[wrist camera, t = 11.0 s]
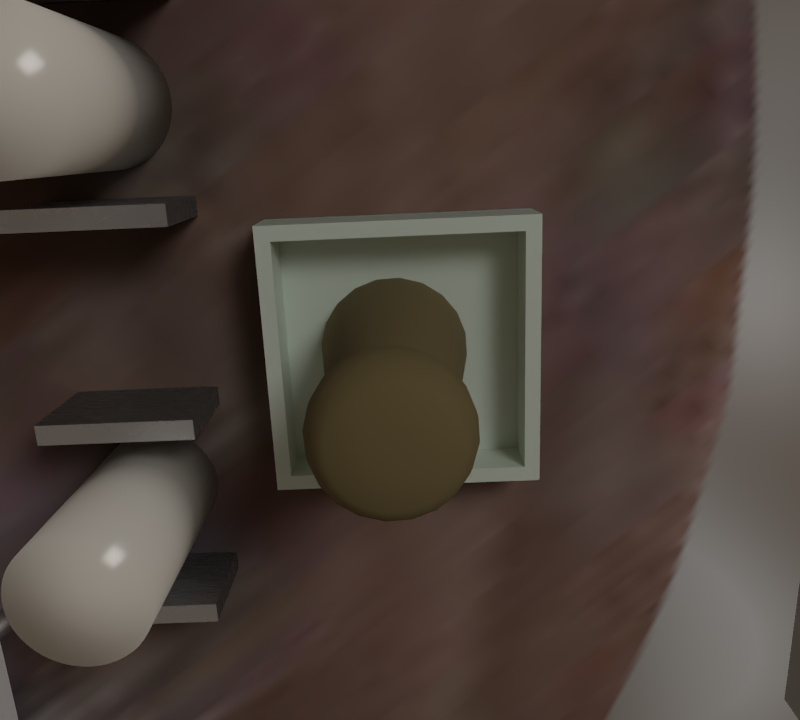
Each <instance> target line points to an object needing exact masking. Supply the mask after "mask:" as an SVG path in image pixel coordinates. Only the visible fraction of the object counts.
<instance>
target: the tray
mask: <svg viewBox="0 0 800 720" xmlns="http://www.w3.org/2000/svg"><path fill="white" fill-rule="evenodd" d="M252 228H253V239H254V249H255V259H256V270H257V280H258V290H259V301H260V311H261V322H262V332H263V342H264V353H265V363H266V374H267V384H268V394H269V405H270V415H271V426H272V436H273V446H274V457H275V467H276V478H277V488H278V490H292V489H318V488H321V487H320V486H319V484H318V482H317V480H316V478H315V476H314V474H313V472H312V470H311V468H310V466H309V464H308V462H307V459H306V455H305V447H304V440H303V432H302V429H303V424H304V420H305V415H306V410H307V405H308V403H309V400H310V398H311V396H312V394H313V393H314V391H315V389H316V388H317V386H318V384H319V383H320V381H321V380H322V378H323V376H324V366H323V355H322V340H323V335H324V330H325V325H326V322H327V321H328V319H329V317H330V315H331V314H332V312H333V310H334V309H335V307H336V305H337V304H338V303H339V302H340V301H341V300H342V299H343V298H345V297H346V296H347V295H348V294H349V293H350V292H351V291H353V290H354V289H355V288H357V287H360V286H362V285H365V284H367V283H369V282H372V281H374V280H378V279H389V278H403V279H408V280H412V281H416V282H421V283H423V284H425V285H427V286H428V287H430V288H432V289H433V290H435V291H437V292H438V293H440V294H442V295H443V296H444V298H445V299H446V300H447V301H448V302H449V303H450V305H451V306H452V307H453V308H454V309H455V310H456V311H457V313H458V316H459V318H460V321H461V323H462V325H463V328H464V330H465V333H466V349H467V357H466V363H465V369H464V375H463V382H464V384H465V385H466V386H467V389H468V391H469V394H470V396H471V398H472V401H473V403H474V405H475V408H476V410H477V414H478V418H479V435H480V444H479V447H478V451H477V455H476V458H475V462H474V465H473V468H472V471H471V473H470V475H469V476H468V478H467V479H466V481H465V482H464V483H472V482H498V481H524V480H539V468H540V381H541V293H542V213H540V212H538V211H536V210H534V209H531V208H523V209H500V210H476V211H453V212H429V213H406V214H383V215H359V216H336V217H312V218H289V219H265V220H262V221H261V222H259V223H257V224H255V225H254V226H252Z"/></svg>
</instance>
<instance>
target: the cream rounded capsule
mask: <svg viewBox="0 0 800 720" xmlns="http://www.w3.org/2000/svg"><path fill="white" fill-rule="evenodd" d="M217 488H218V486H217V477H216V473H215V470H214V467H213V465H212V463H211V461H210V459H209V458H208V456H207V455H206V454H205V453H204V452H203V450H202V449H201V448H200V447H198V446H197V445H196V444H195V443H193V442H192V441H191V440H174V441H148V442H123V443H120V444H119V445H118V446H117V447H116V448H115V449H114V450H113V451H112V452H111V453H110V454H109V456H108V457H107V458H106V459H105V460H104V461H103V462H102V463H101V464H100V465H99V466H98V467H97V468H96V470H95V471H94V472H93V473H92V474H91V475H90V476H89V477H88V478H87V479H86V480H85V481H84V482H83V484H82V485H81V486H80V487H79V488H78V489H77V490H76V491H75V492H74V493H73V494H72V495H71V496H70V498H69V499H68V500H67V501H66V502H65V503H64V504H63V505H62V506H61V507H60V508H59V509H58V510H57V512H56V513H55V514H54V515H53V516H52V517H51V518H50V519H49V520H48V521H47V522H46V523H45V524H44V526H43V527H42V528H41V529H40V530H39V531H38V532H37V533H36V534H35V535H34V536H33V537H32V538H31V540H30V541H29V542H28V543H27V544H26V545H25V546H24V547H23V548H22V549H21V550H20V551H19V552H18V554H17V555H16V556H15V557H14V558H13V559H12V561H11V562H10V563H9V565H8V567H7V569H6V571H5V573H4V576H3V579H2V585H1V600H2V606H3V610H4V613H5V616H6V618H7V620H8V622H9V624H10V625H11V627H12V629H13V630H14V631H15V633H16V634H17V635H18V636H19V638H20V639H21V640H22V641H23V642H25V643H26V644H27V645H28V646H29V647H31V648H32V649H33V650H34V651H36V652H38V653H39V654H41V655H43V656H45V657H47V658H49V659H51V660H54V661H57V662H60V663H63V664H67V665H73V666H84V667H91V666H100V665H105V664H109V663H112V662H115V661H118V660H120V659H122V658H124V657H126V656H127V655H129V654H130V653H131V652H133V651H134V650H135V649H136V648H137V647H138V646H139V645H140V644H141V643H142V642H143V640H144V639H145V637H146V636H147V634H148V632H149V630H150V628H151V626H152V624H153V622H154V621H155V619H156V617H157V615H158V613H159V611H160V609H161V607H162V605H163V603H164V601H165V599H166V597H167V595H168V593H169V591H170V589H171V587H172V585H173V583H174V581H175V579H176V578H177V576H178V574H179V572H180V570H181V568H182V566H183V564H184V562H185V560H186V558H187V556H188V554H189V552H190V550H191V548H192V546H193V544H194V542H195V540H196V538H197V536H198V534H199V533H200V531H201V529H202V527H203V525H204V523H205V521H206V519H207V517H208V515H209V513H210V511H211V509H212V507H213V505H214V502H215V500H216V496H217Z"/></svg>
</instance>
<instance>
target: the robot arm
mask: <svg viewBox="0 0 800 720" xmlns="http://www.w3.org/2000/svg"><path fill="white" fill-rule="evenodd" d="M785 701H786V702H787V703H788V705H789V706H790V708H791V709H792V711H793V712H794V713H795V715H796V716H797V718H798V719H799V720H800V585H799V592H798V601H797V608H796V615H795V623H794V631H793V639H792V646H791V654H790V661H789V670H788V677H787V685H786V693H785ZM0 720H18V717H17V712H16V708H15V704H14V699H13V695H12V691H11V686H10V682H9V678H8V673H7V669H6V665H5V660H4V656H3V652H2V648H1V643H0Z"/></svg>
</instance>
